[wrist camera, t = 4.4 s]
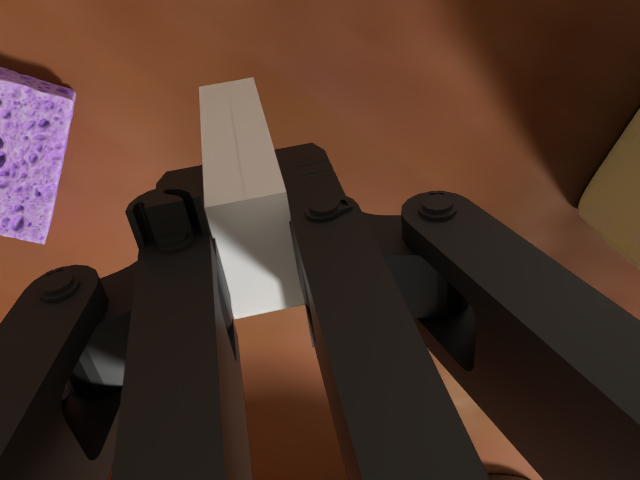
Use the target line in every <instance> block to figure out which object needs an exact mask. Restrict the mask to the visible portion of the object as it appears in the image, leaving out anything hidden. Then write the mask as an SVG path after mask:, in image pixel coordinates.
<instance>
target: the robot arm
mask: <svg viewBox="0 0 640 480" xmlns="http://www.w3.org/2000/svg"><path fill="white" fill-rule="evenodd" d="M199 98H200V120H201V142H202V164H203V165H200V166H194V167H189V168H184V169H178V170H173V171H168V172H166V173H165V174H164V175H163V176H162V178H161V179H160V180H159V181H158V182H157V184H156V189H154V190H150V191H148V192H146V193H144V194H142V195H140V196H138V197H137V198H136V199H134V200H133V201H132V202H131V203H130V204H129V205H128V207H127V209H126V211H125V212H126V215H127V218H128V221H129V223H130V226H131V229H132V232H133V234H134V237H135V240H136V242H137V245H138V248H139V253H138V261H136V262H135V263H133V264H132V265H130V266H129V267H126V268H124V269H122V270H120V271H118V272H116V273H113V274H111V275H108V276H106V277H103V278H101V279H100V278H99V276H98V274H97V272H96V270H95V269H93V268H91V267H89V266H84V265H71V266H66V267H60V268H57V269H55V270H51V271H49V272H47V273H45V274H44V275H42V276H41V277H39V278H38V279H36V280H34V281H33V282H32V283H31V284H30V285H29V286H28V287H27V288H26V289H25V290H24V291H23V293H22V294H21V296H20V297H19V298H18V300H17V301H16V303H15V304H14V305H13V307H12V308H11V309H10V311H9V312H8V314H7V315H6V316H5V318H4V319H3V321H2V322H1V323H0V480H107V477H108V475H109V472H110V470H111V467H112V464H113V468H112V476H111V480H253V477H252V468H251V458H250V449H249V439H248V430H247V421H246V411H245V402H244V392H243V383H242V373H241V364H240V355H239V345H238V336H237V332H236V329H235V325H234V321H233V317H232V312H233V315H234V319H238V318H243V317H248V316H252V315H257V314H262V313H266V312H271V311H276V310H280V309H285V308H290V307H295V306H299V305H304V304H305V306H306V312H307V318H308V323H309V329H310V335H311V341H312V347H315V350H316V354H317V358H318V362H319V366H320V370H321V374H322V378H323V382H324V386H325V390H326V394H327V398H328V402H329V406H330V410H331V414H332V418H333V422H334V426H335V430H336V434H337V437H338V441H339V445H340V449H341V453H342V457H343V461H344V465H345V469H346V473H347V477H348V480H526V479H523V478H520V477H516V476H510V475H488V474H487V472H486V470H485V468H484V466H483V464H482V462H481V460H480V458H479V456H478V453H477V451H476V449H475V447H474V445H473V443H472V441H471V439H470V437H469V435H468V433H467V431H466V428H465V426H464V424H463V422H462V420H461V418H460V416H459V414H458V412H457V410H456V408H455V405H454V403H453V401H452V399H451V397H450V395H449V393H448V391H447V389H446V387H445V385H444V383H443V380H442V378H441V376H440V374H439V372H438V370H437V368H436V366H435V364H434V362H433V360H432V357H431V355H430V353H429V351H428V349H429V350H430V351H431V353H432V354H433V355H434V356H435V357H436V358H437V359H438V361H439V362H440V363H441V364H442V365H443V366H444V367H445V368H446V370H447V371H448V372H449V373H450V374H451V375H452V376H453V378H454V379H455V380H456V381H457V382H458V383H459V384H460V386H461V387H462V388H463V389H464V390H465V391H466V392H467V393H468V395H469V396H470V397H471V398H472V399H473V400H474V401H475V403H476V404H477V405H478V406H479V407H480V408H481V409H482V410H483V412H484V413H485V414H486V415H487V416H488V417H489V418H490V420H491V421H492V422H493V423H494V424H495V425H496V426H497V428H498V429H499V430H500V431H501V432H502V433H503V434H504V435H505V437H506V438H507V439H508V440H509V441H510V442H511V443H512V445H513V446H514V447H515V448H516V449H517V450H518V451H519V452H520V454H521V455H522V456H523V457H524V458H525V459H526V460H527V462H528V463H529V464H530V465H531V466H532V467H533V468H534V470H535V471H536V472H537V473H538V474H539V475H540V476H541V477H542V479H543V480H640V320H638V319H637V318H636V317H634V316H633V315H631V314H630V313H628V312H627V311H626V310H624V309H623V308H621V307H620V306H619V305H617V304H616V303H614V302H613V301H611V300H610V299H609V298H607V297H606V296H604V295H603V294H602V293H600V292H599V291H597V290H596V289H594V288H593V287H592V286H590V285H589V284H587V283H586V282H585V281H583V280H582V279H580V278H579V277H577V276H576V275H575V274H573V273H572V272H570V271H569V270H568V269H566V268H565V267H563V266H562V265H560V264H559V263H558V262H556V261H555V260H553V259H552V258H551V257H549V256H548V255H546V254H545V253H543V252H542V251H541V250H539V249H538V248H536V247H535V246H534V245H532V244H531V243H529V242H528V241H526V240H525V239H524V238H522V237H521V236H519V235H518V234H517V233H515V232H514V231H512V230H511V229H509V228H508V227H507V226H505V225H504V224H502V223H501V222H500V221H498V220H497V219H495V218H494V217H492V216H491V215H490V214H488V213H487V212H485V211H484V210H483V209H481V208H480V207H478V206H477V205H475V204H474V203H473V202H471V201H470V200H468V199H467V198H465V197H463V196H461V195H458V194H455V193H450V192H445V191H430V192H426V193H421V194H417V195H415V196H413V197H412V198H410V199H408V200H407V201H406V202H405V203H404V204H403V205H402V210H401V215H386V216H385V215H373V214H368V213H364V212H362V211H361V209H360V207H359V205H358V204H357V203H356V202H355V201H354V200H353V199H352V198H349V197H347V196H345V193H344V191H343V189H342V187H341V185H340V182H339V180H338V178H337V176H336V174H335V172H334V171H333V167H332V165H331V163H330V161H329V159H328V156H327V154H326V152H325V150H323V149H322V148H320V147H318V146H317V145H315V144H313V143H308V144H303V145H297V146H292V147H287V148H281V149H276V150H274V147H273V144H272V141H271V137H270V134H269V130H268V127H267V123H266V120H265V116H264V113H263V110H262V106H261V103H260V99H259V96H258V92H257V89H256V85H255V82H254V79H253V78H247V79H241V80H236V81H230V82H224V83H219V84H213V85H207V86H202V87H199ZM427 348H428V349H427Z"/></svg>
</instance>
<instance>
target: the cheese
mask: <svg viewBox="0 0 640 480" xmlns="http://www.w3.org/2000/svg"><path fill="white" fill-rule="evenodd" d="M578 211H579V215H580V217H581V218H582V219H583V220H584V221H585V222H586V223H587V224H588V225H589V226H590V227H591V228H592V229H593V230H594V231H596V232H597V233H598V234H599V235H600V236H601V237H602V238H603V239H604V240H605V241H606V242H607V243H608V244H609V245H610V246H611V247H612V248H614V249H615V250H616V251H617V252H618V253H619V254H620V255H622V256H623V257H624V258H625V259H626V260H628V261H629V262H630V263H631V264H632V265H633V266H635V267H636V268H637V269H638V270H639V271H640V108H639V110H638V111H637V113H636V114H635V116H634V117H633V119H632V120H631V122H630V123H629V125H628V126H627V127H626V129H625V130H624V132H623V133H622V135H621V136H620V138H619V139H618V141H617V142H616V144H615V145H614V147H613V148H612V150H611V151H610V153H609V154H608V156H607V157H606V159H605V160H604V162H603V163H602V165H601V166H600V168H599V169H598V171H597V172H596V173H595V175H594V177H593V178H592V180H591V181H590V183H589V184H588V186H587V188H586V189H585V191H584V193H583V195H582V197H581V199H580V202H579V205H578Z"/></svg>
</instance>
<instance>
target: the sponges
mask: <svg viewBox="0 0 640 480" xmlns="http://www.w3.org/2000/svg"><path fill="white" fill-rule="evenodd" d="M75 97H76V92H75V91H74V90H73V89H71V88H67V87H63V86H59V85H56V84H52V83H50V82H47V81H43V80H39V79H37V78H35V77H32V76H28V75H22V74H19V73H17V72H16V71H12V70H9V69H6V68H3V67H0V235H2V236H6V237H13V238H17V239H20V240H26V241H30V242H35V243H41V244H45V241H46V237H47V235H48V231H49V228H50V224H51V219H52V216H53V210H54V205H55V201H56V195H57V189H58V184H59V179H60V175H61V170H62V165H63V159H64V154H65V151H66V146H67V140H68V134H69V129H70V124H71V120H72V116H73V107H74V102H75Z"/></svg>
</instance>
